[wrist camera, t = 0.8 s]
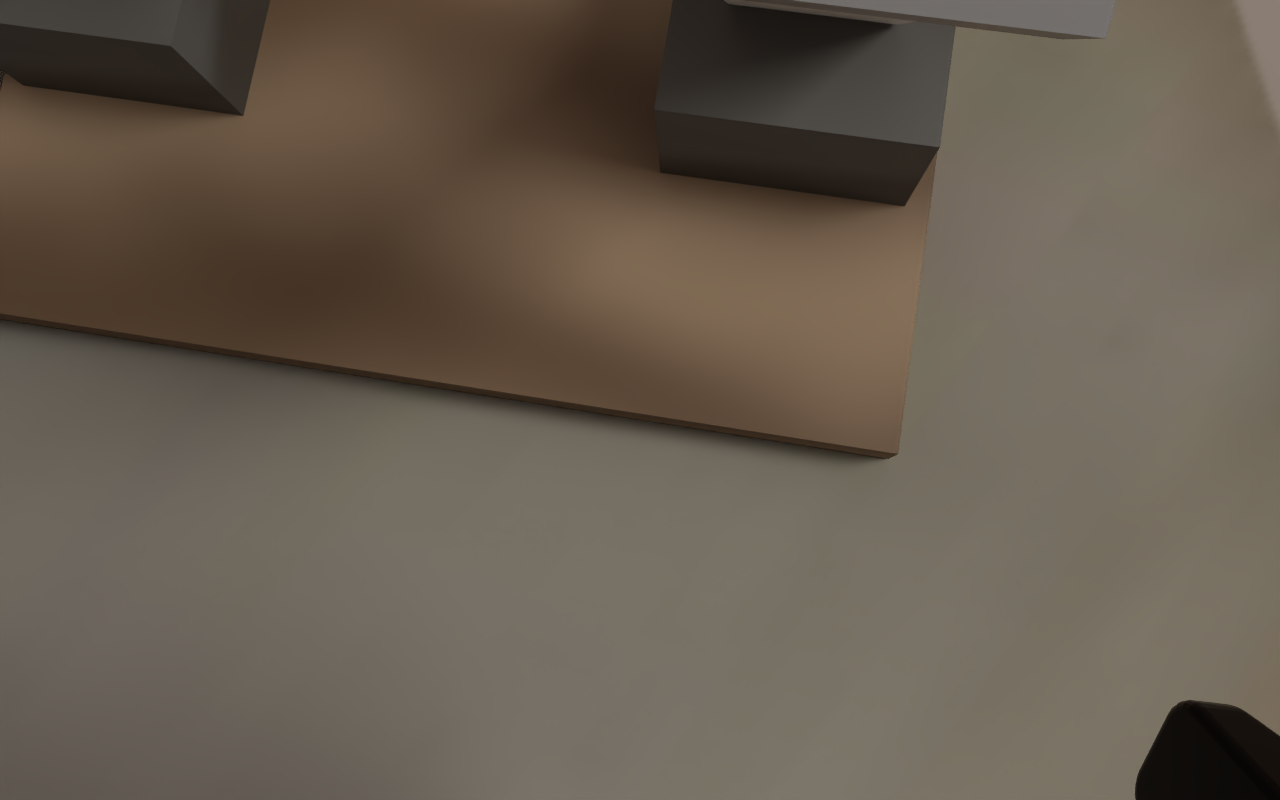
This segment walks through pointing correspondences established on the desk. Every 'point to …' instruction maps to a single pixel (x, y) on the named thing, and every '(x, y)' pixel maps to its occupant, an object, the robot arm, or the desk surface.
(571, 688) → the desk surface
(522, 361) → the switch board
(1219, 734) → the robot arm
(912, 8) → the lever
